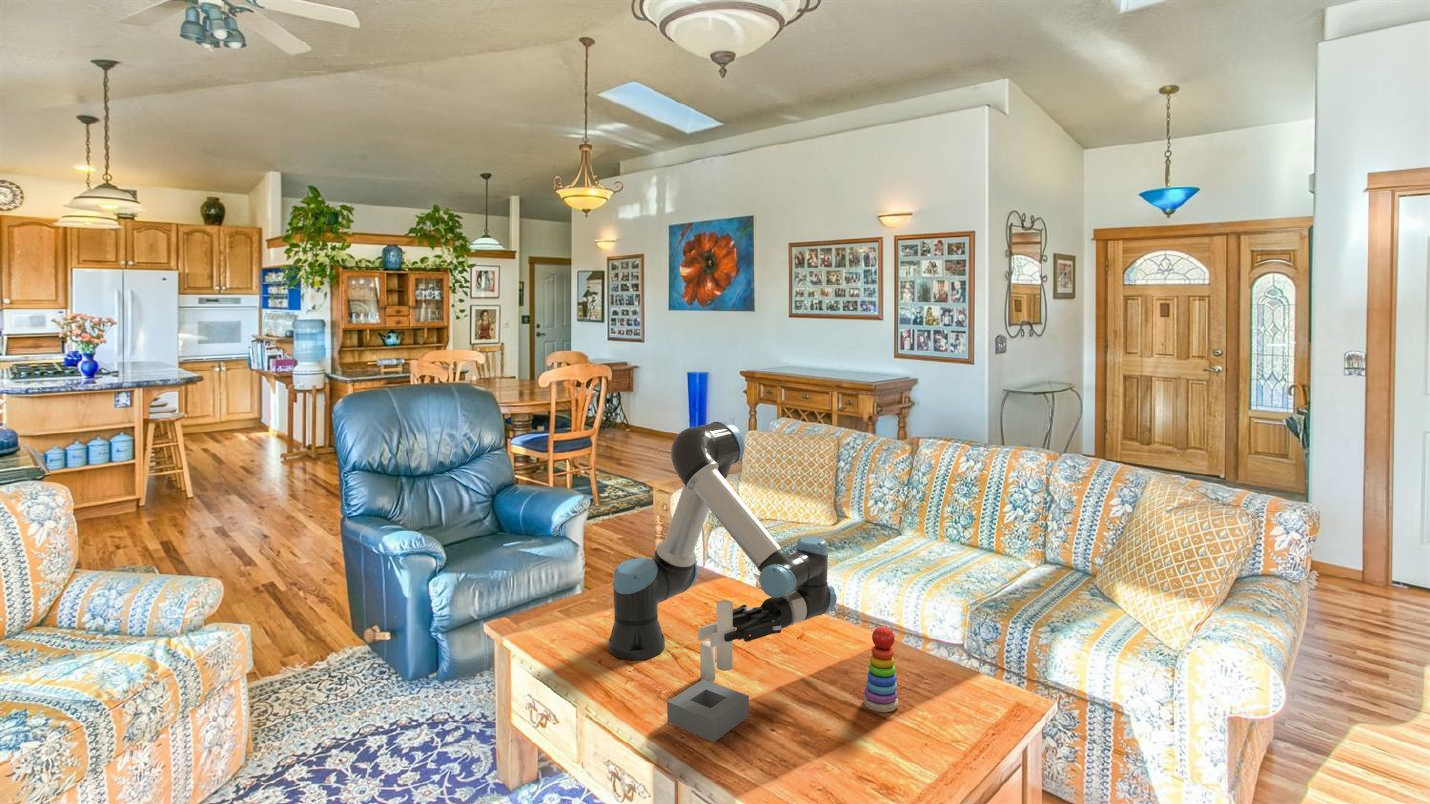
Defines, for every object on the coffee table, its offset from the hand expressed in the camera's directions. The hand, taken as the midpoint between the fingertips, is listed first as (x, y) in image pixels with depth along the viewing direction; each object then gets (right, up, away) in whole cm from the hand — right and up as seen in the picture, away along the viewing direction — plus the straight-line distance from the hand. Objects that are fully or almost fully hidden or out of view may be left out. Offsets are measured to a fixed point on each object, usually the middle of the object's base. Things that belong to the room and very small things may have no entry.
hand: (705, 637), depth 173 cm
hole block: (+1, -19, +4) cm, 20 cm away
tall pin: (+4, -8, +5) cm, 10 cm away
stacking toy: (+41, -19, +9) cm, 46 cm away
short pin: (0, -17, +23) cm, 28 cm away
